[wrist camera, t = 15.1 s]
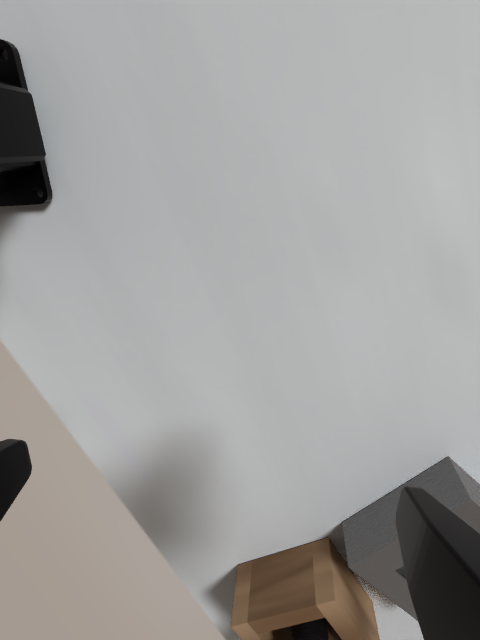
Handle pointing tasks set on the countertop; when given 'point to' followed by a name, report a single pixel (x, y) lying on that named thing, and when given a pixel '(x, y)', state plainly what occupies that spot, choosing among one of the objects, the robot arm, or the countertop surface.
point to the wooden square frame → (301, 595)
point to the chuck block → (381, 533)
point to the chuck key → (308, 630)
